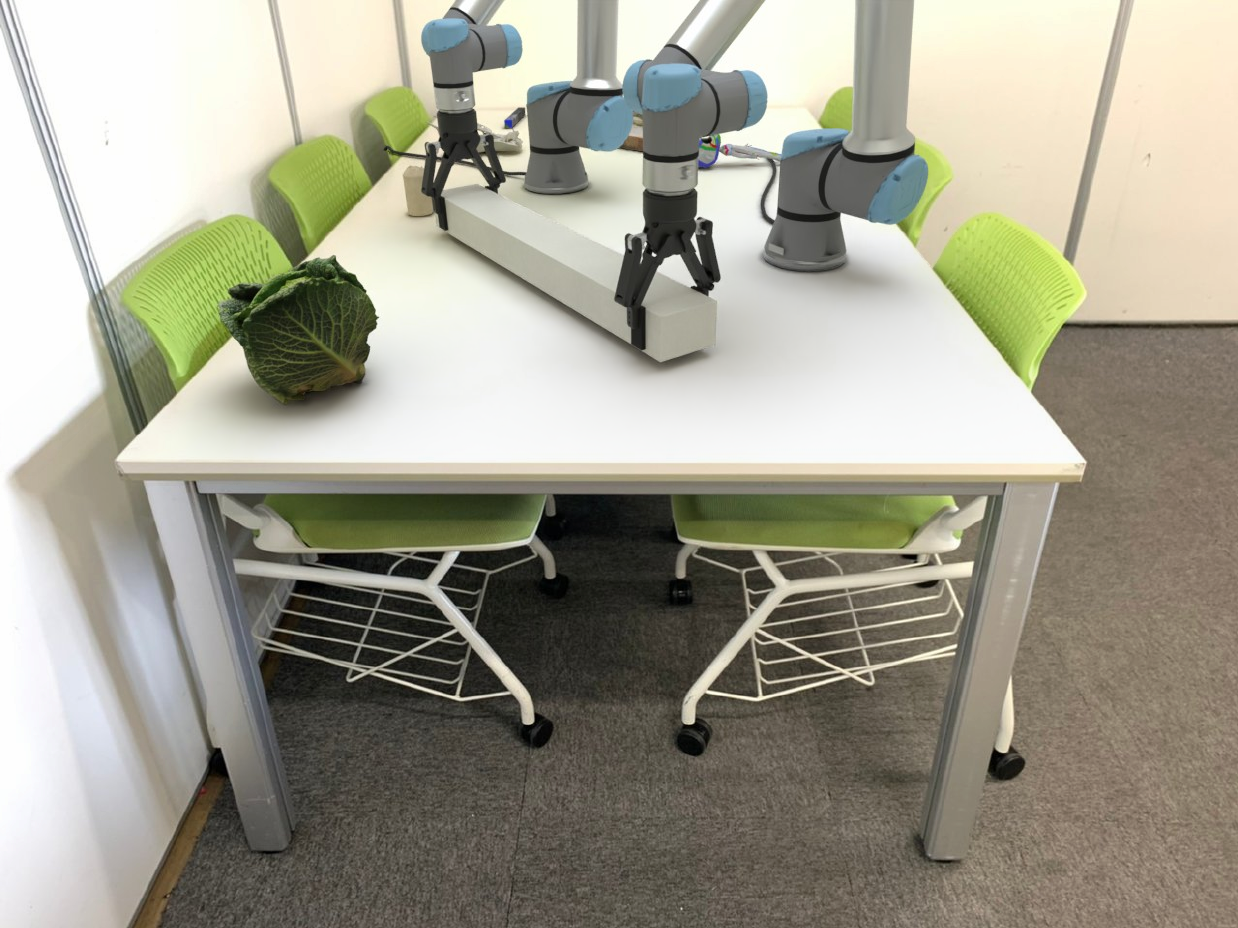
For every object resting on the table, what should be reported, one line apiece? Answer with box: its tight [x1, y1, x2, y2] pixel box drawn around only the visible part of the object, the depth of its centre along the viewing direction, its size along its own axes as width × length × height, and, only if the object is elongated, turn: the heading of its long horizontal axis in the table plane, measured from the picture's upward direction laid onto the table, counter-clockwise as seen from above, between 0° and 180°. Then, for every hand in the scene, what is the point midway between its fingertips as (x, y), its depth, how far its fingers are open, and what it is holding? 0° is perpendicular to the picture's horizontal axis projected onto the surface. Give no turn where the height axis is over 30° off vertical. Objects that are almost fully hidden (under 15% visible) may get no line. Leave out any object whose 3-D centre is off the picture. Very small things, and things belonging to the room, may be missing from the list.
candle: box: [402, 165, 434, 217], centre depth 195 cm, size 6×6×10 cm
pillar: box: [503, 106, 527, 129], centre depth 277 cm, size 2×2×20 cm
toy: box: [698, 134, 782, 168], centre depth 228 cm, size 10×8×30 cm
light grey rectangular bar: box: [434, 183, 718, 363], centre depth 157 cm, size 79×10×7 cm, turn 34°
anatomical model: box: [427, 114, 524, 154], centre depth 243 cm, size 15×9×25 cm
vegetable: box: [216, 254, 380, 405], centre depth 123 cm, size 20×19×20 cm
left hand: (468, 224), depth 183 cm, fingers closed on light grey rectangular bar, 10 cm apart
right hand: (668, 337), depth 134 cm, fingers closed on light grey rectangular bar, 10 cm apart
